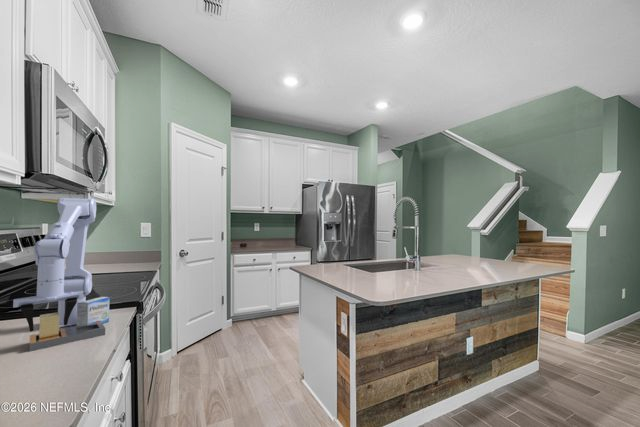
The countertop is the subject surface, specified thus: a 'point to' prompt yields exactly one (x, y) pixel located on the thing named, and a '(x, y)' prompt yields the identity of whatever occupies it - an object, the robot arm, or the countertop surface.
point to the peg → (49, 325)
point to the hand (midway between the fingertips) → (49, 327)
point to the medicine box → (93, 311)
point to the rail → (67, 336)
